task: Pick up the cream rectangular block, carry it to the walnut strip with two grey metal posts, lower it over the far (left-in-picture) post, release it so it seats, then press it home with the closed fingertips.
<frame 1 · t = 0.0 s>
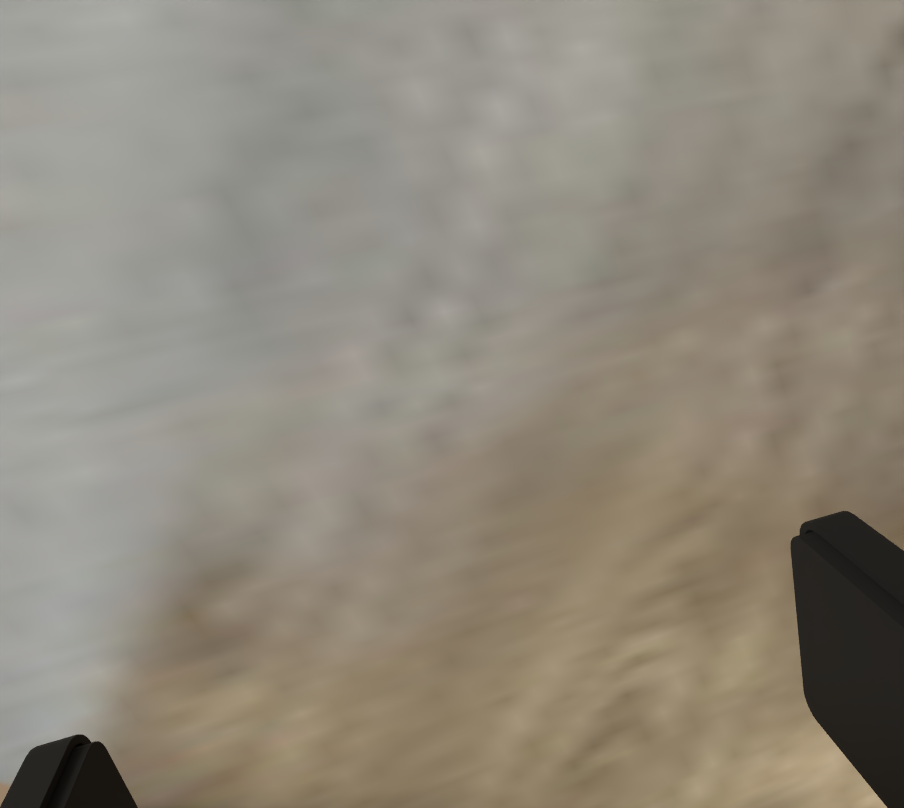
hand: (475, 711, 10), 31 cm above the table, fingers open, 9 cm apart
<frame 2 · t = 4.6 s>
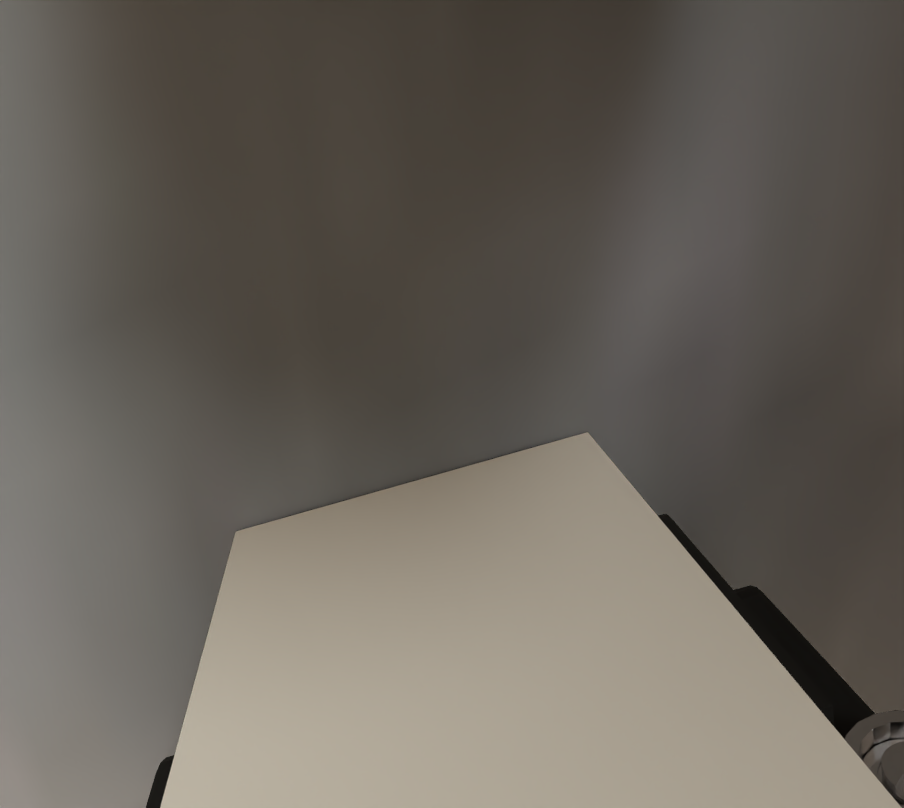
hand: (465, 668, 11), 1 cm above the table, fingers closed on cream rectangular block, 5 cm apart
cream rectangular block: (456, 627, 12), on the table, touching gripper
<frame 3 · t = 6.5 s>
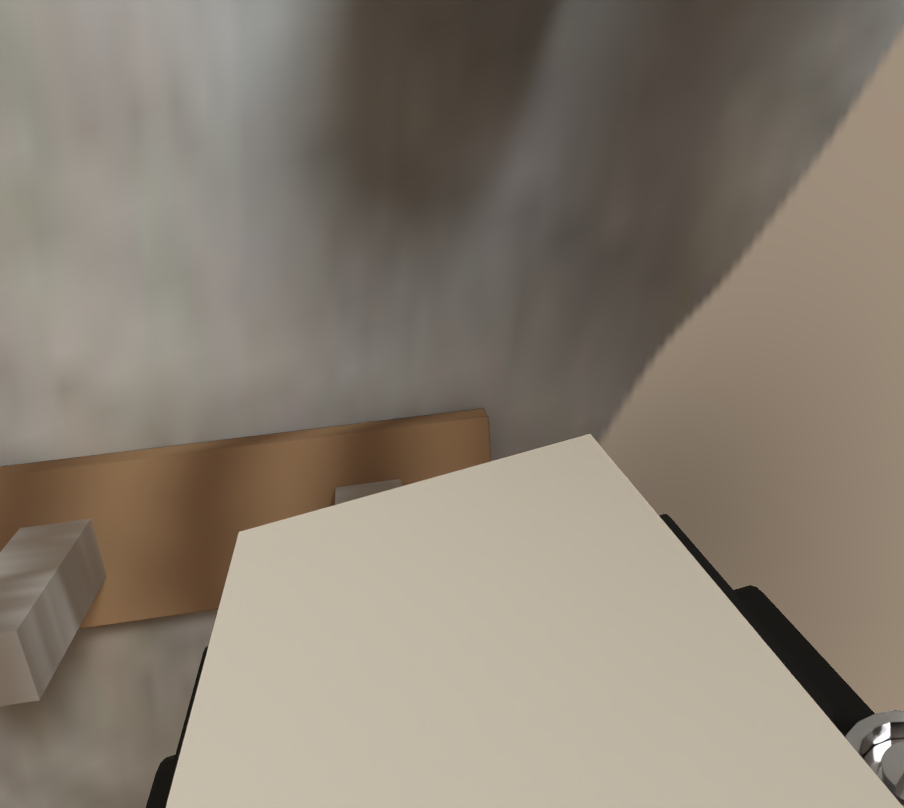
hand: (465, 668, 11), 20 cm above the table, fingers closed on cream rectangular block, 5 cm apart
post strip: (224, 519, 31), on the table
cream rectangular block: (458, 628, 12), point 19 cm above the table, touching gripper
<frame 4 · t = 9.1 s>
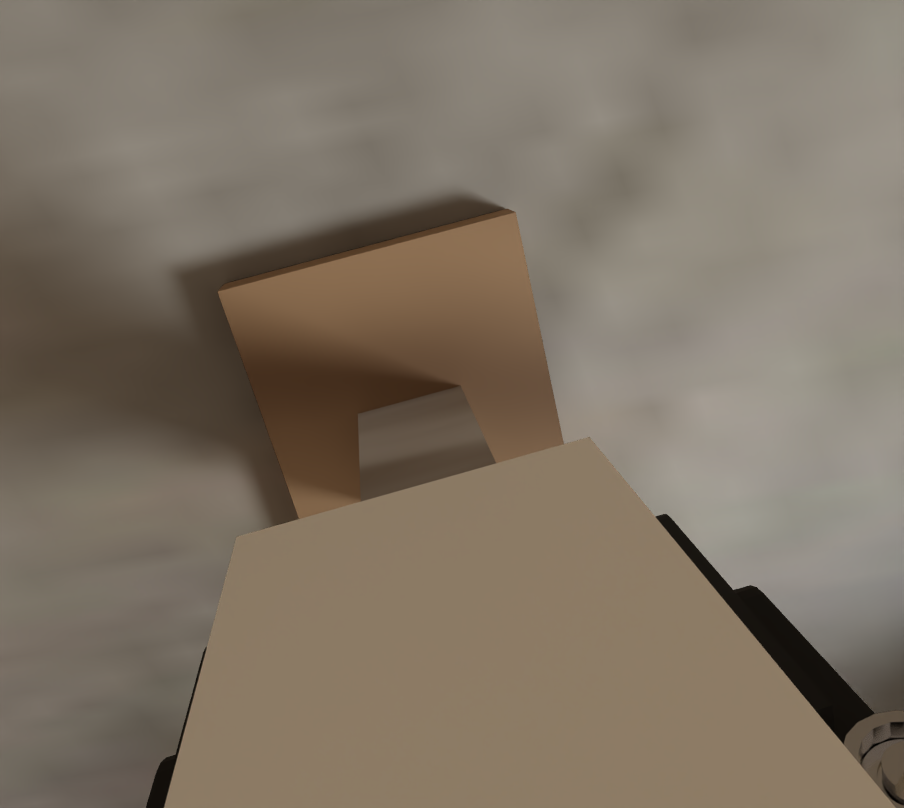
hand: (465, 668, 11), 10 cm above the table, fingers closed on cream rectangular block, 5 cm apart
post strip: (471, 617, 22), on the table
cream rectangular block: (457, 632, 12), point 9 cm above the table, touching gripper
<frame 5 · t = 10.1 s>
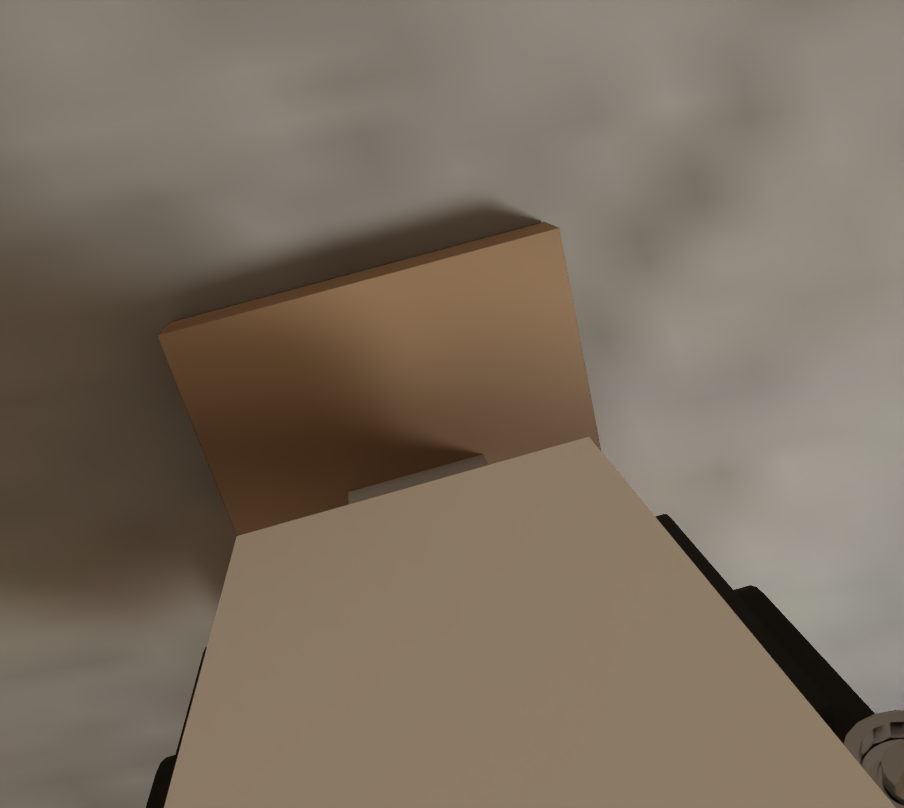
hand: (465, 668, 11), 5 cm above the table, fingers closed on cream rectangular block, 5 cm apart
post strip: (491, 729, 18), on the table
cream rectangular block: (457, 631, 12), point 4 cm above the table, touching gripper
when the fingers open (5 cm above the table, at t = 10.9 s): cream rectangular block drops 2 cm, resting on post strip.
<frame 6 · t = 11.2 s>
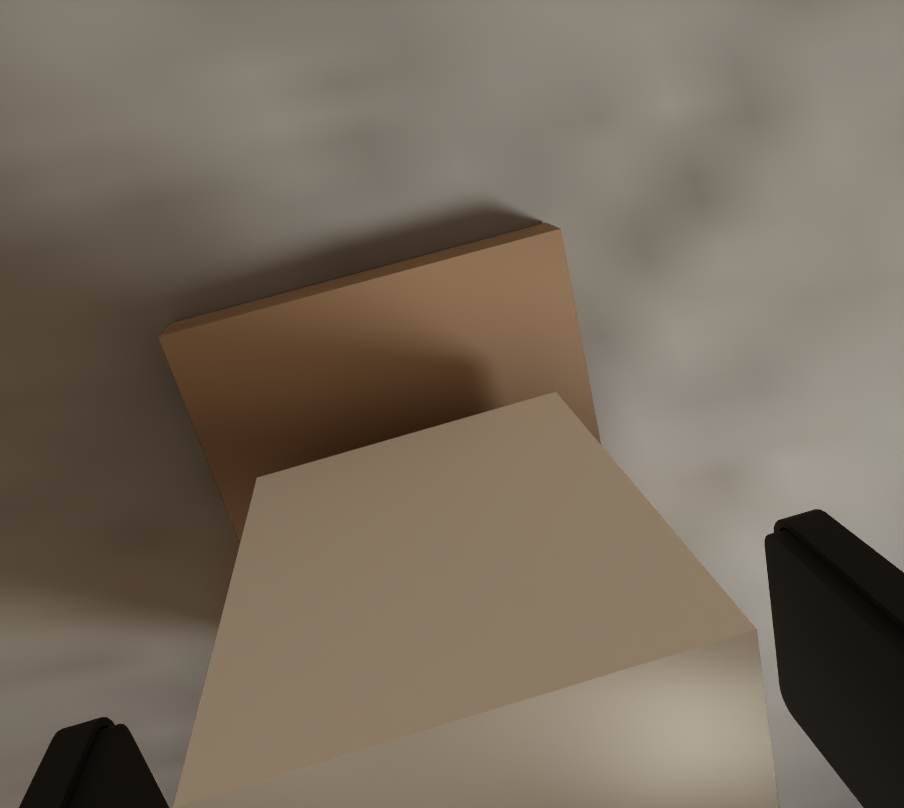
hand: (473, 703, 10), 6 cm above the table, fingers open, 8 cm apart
post strip: (492, 730, 17), on the table
cream rectangular block: (445, 562, 14), point 2 cm above the table, touching post strip
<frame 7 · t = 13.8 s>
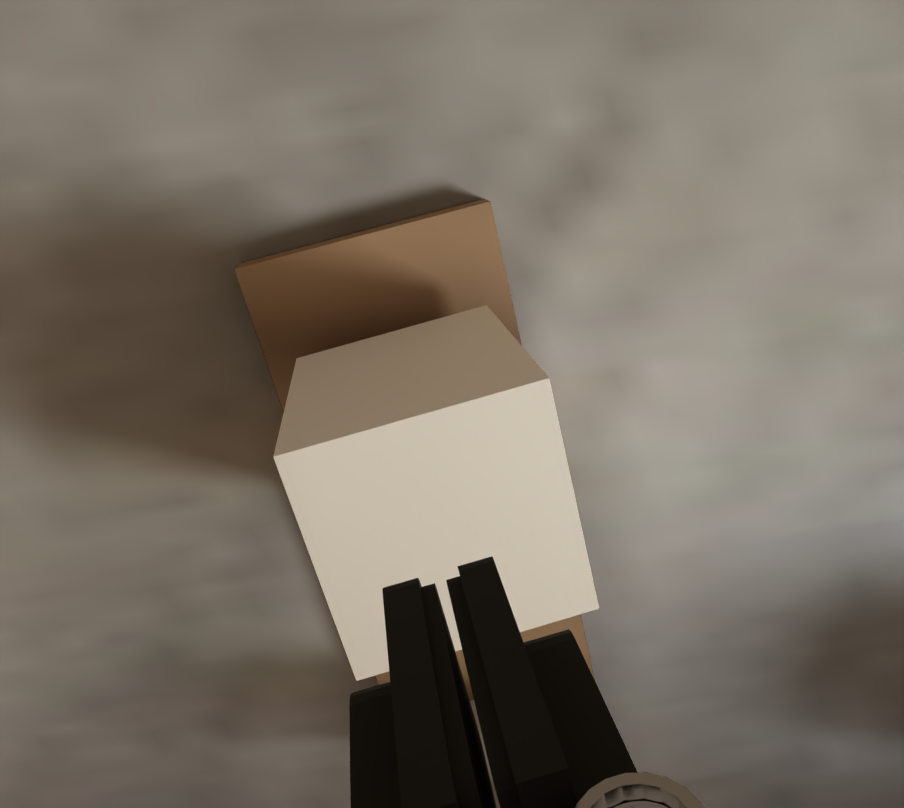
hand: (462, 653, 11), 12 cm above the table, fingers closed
post strip: (455, 562, 25), on the table
cream rectangular block: (417, 420, 21), point 2 cm above the table, touching post strip
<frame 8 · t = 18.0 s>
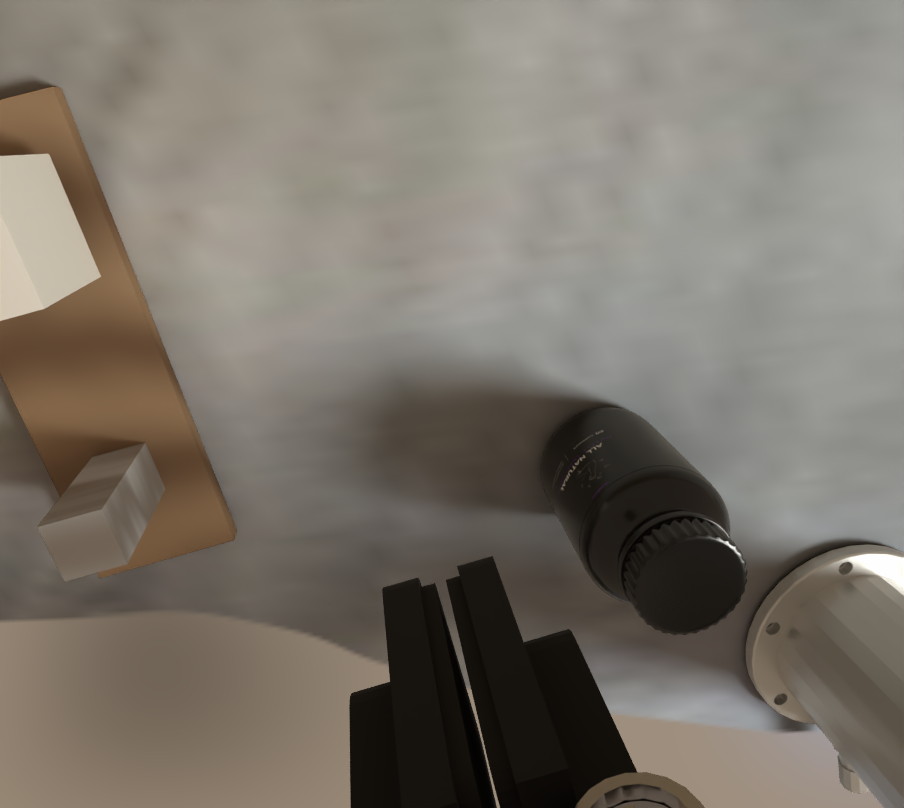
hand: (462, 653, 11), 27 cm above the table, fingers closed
post strip: (85, 353, 35), on the table
cream rectangular block: (14, 233, 31), point 2 cm above the table, touching post strip
supplement bottle: (596, 461, 41), on the table
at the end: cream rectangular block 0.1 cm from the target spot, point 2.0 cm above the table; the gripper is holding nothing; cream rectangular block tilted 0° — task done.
